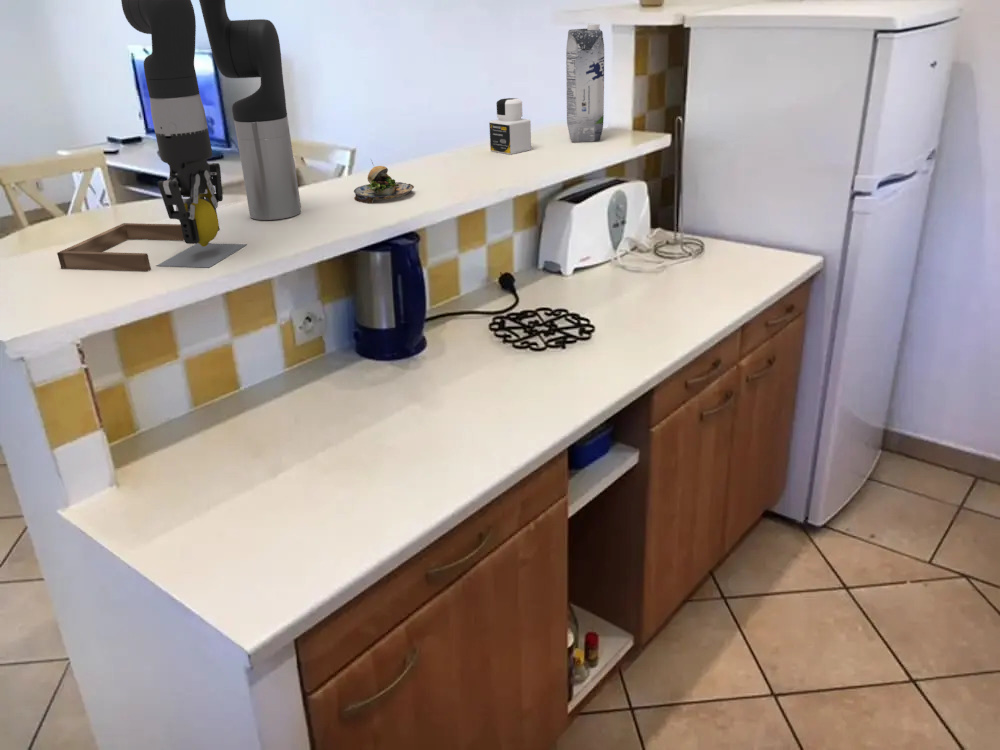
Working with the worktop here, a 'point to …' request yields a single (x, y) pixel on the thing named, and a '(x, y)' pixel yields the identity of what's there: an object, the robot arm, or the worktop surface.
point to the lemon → (205, 221)
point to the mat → (202, 255)
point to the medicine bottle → (510, 128)
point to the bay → (92, 248)
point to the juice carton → (585, 83)
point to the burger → (380, 187)
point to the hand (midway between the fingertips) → (202, 237)
